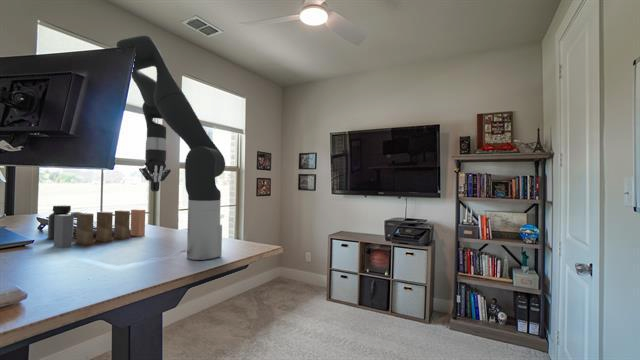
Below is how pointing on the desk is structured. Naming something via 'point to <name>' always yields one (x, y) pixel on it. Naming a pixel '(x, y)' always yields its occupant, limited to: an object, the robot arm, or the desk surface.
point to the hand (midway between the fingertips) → (154, 191)
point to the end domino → (63, 231)
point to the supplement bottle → (51, 220)
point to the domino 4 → (137, 222)
